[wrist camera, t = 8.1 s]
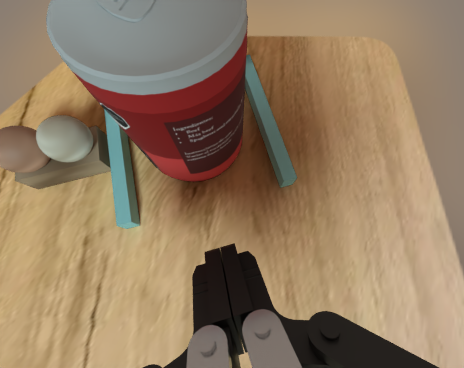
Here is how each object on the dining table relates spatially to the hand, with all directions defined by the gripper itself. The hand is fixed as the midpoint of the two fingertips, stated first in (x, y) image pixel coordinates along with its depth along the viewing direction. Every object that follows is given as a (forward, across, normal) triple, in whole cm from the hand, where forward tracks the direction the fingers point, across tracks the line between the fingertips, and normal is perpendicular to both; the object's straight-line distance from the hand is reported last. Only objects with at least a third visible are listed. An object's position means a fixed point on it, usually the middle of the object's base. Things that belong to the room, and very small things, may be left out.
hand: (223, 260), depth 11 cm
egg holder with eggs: (+11, +10, -4) cm, 16 cm away
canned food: (+11, 0, -3) cm, 11 cm away
